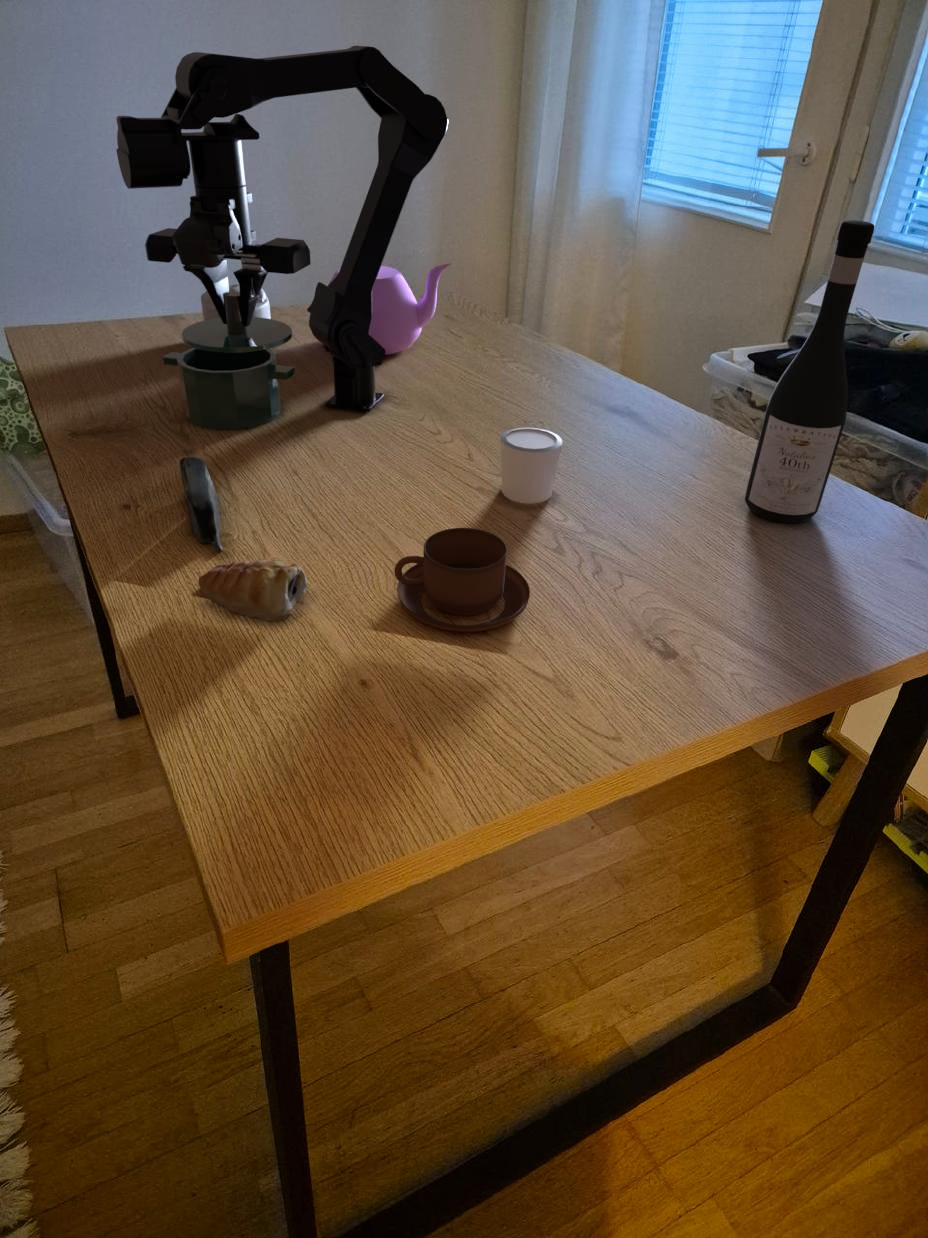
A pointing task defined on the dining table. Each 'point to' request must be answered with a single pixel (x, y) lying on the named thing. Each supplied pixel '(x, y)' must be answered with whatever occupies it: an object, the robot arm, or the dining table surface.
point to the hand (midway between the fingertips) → (236, 324)
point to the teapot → (400, 308)
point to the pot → (229, 387)
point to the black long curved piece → (201, 501)
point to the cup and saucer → (462, 579)
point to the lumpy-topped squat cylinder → (262, 303)
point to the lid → (236, 331)
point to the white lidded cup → (529, 464)
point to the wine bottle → (809, 400)
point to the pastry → (255, 587)
